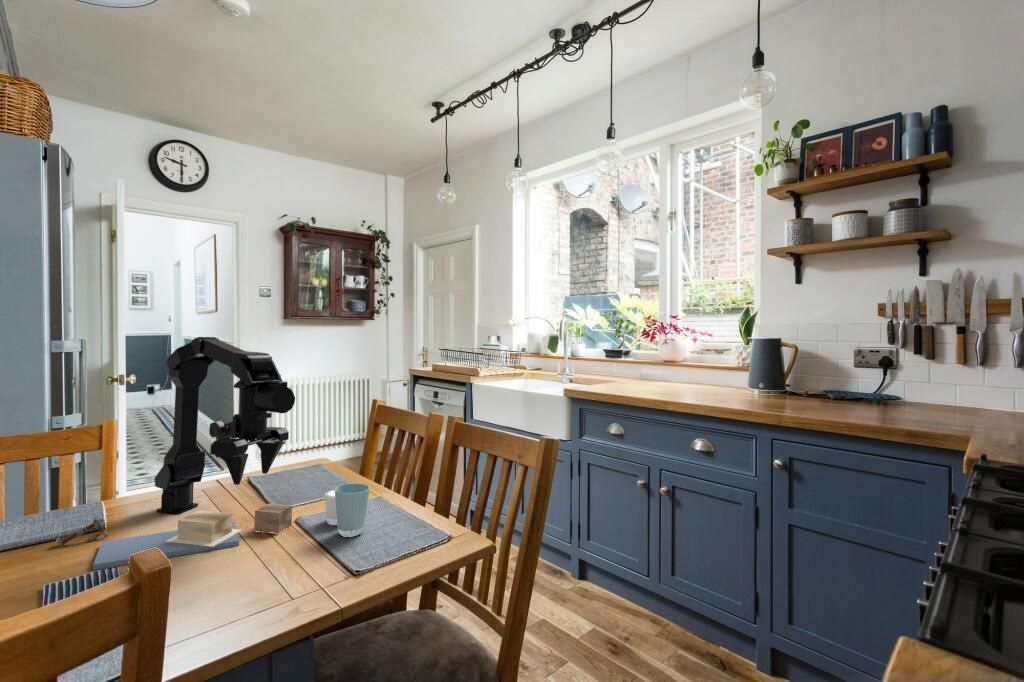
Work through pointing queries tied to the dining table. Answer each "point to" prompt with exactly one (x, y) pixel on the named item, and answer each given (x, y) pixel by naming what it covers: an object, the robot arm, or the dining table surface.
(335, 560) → the dining table surface
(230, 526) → the beech block
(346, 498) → the cup
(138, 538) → the board
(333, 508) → the shot glass
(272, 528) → the walnut block
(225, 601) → the dining table surface
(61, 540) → the wooden post with brackets
